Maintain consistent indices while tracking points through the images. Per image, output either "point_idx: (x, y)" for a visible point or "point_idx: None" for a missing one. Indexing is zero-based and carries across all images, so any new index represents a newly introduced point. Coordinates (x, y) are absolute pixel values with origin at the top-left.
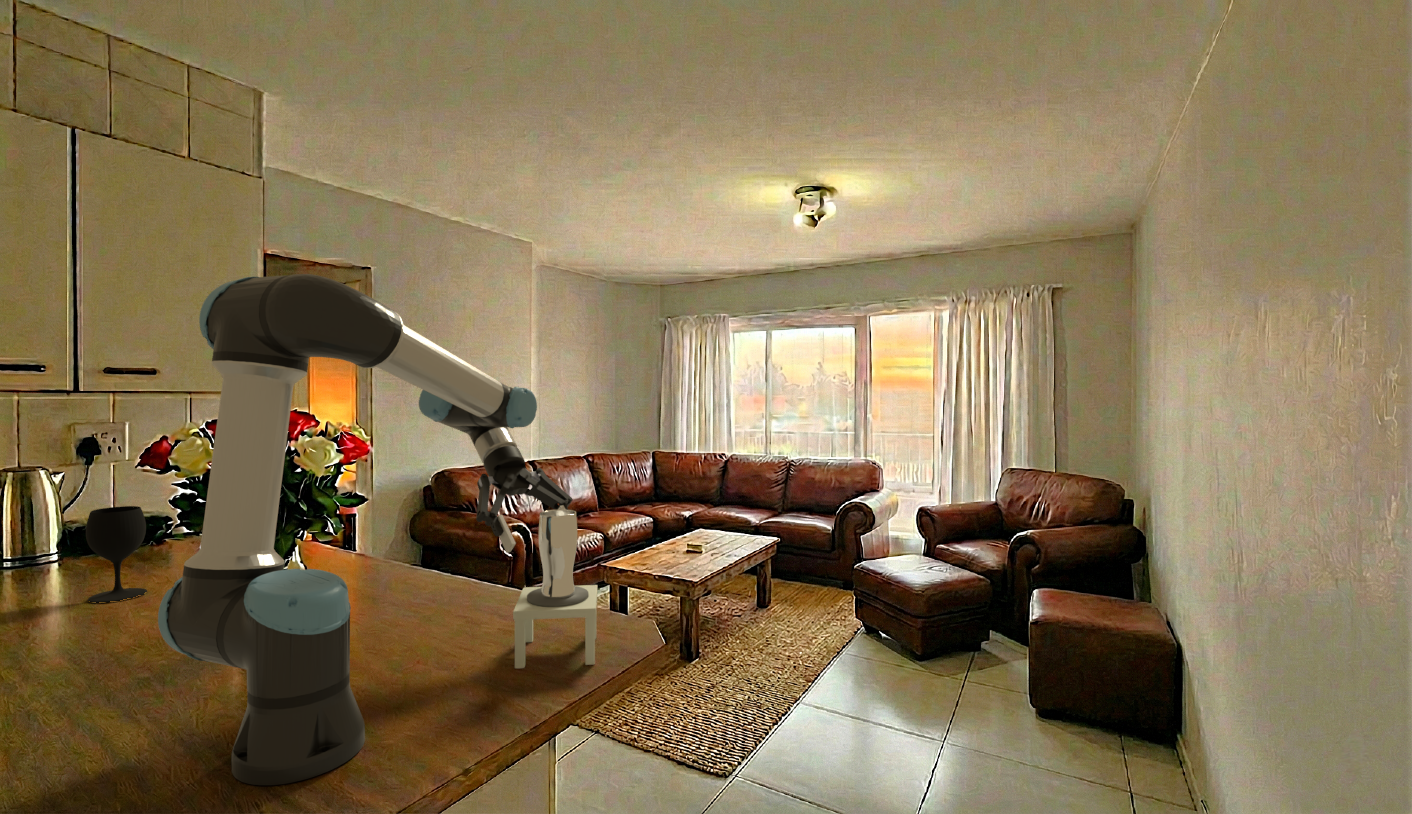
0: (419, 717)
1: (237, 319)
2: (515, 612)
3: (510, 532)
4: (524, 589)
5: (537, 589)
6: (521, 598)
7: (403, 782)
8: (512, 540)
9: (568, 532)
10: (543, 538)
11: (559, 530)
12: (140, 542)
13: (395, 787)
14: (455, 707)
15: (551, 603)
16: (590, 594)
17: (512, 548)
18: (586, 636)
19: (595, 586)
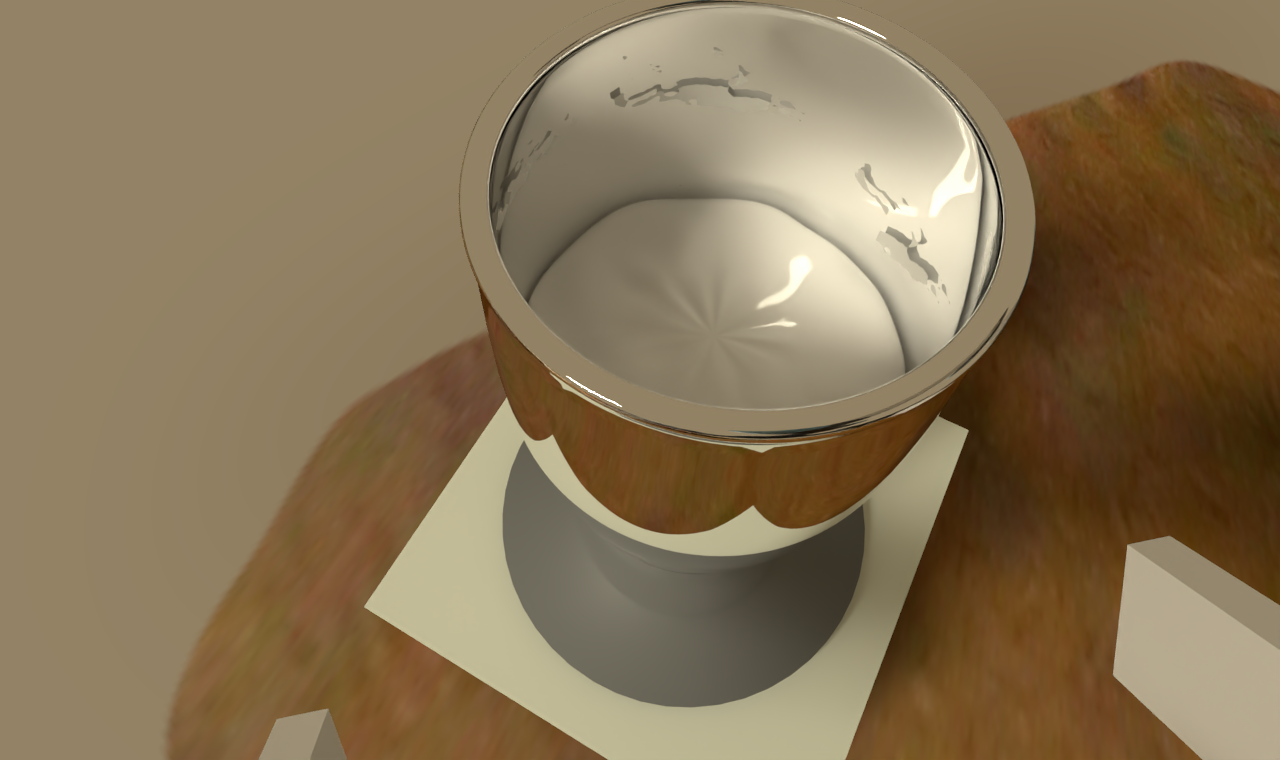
0: (1198, 345)
1: None
2: (954, 428)
3: (1275, 646)
4: None
5: (757, 680)
6: (878, 622)
7: (1206, 109)
8: (1187, 568)
9: (683, 141)
10: (899, 287)
11: (783, 128)
12: None
13: (1220, 103)
14: (1095, 347)
15: None
16: (507, 456)
17: (1120, 623)
18: None
19: (393, 584)
